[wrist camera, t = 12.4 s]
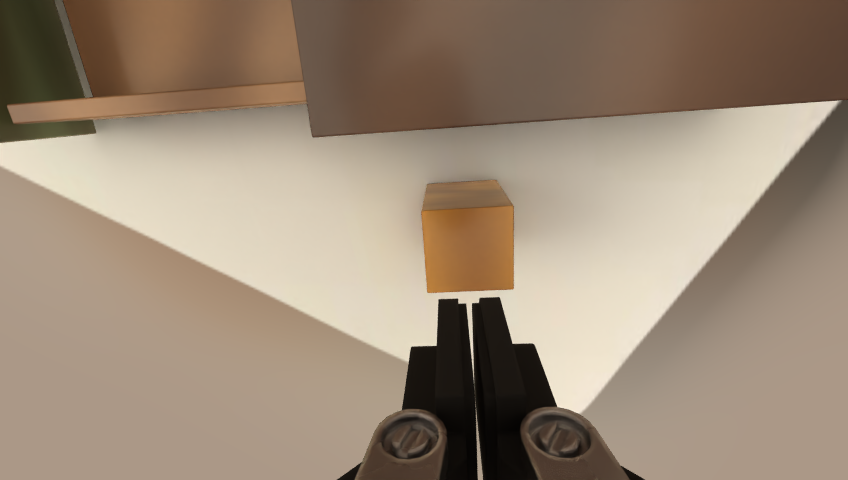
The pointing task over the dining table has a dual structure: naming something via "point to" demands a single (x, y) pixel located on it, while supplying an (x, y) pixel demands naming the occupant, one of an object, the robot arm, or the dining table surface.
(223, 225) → the dining table surface
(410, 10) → the cabinet
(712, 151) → the dining table surface
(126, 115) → the drawer
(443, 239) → the block
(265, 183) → the dining table surface
